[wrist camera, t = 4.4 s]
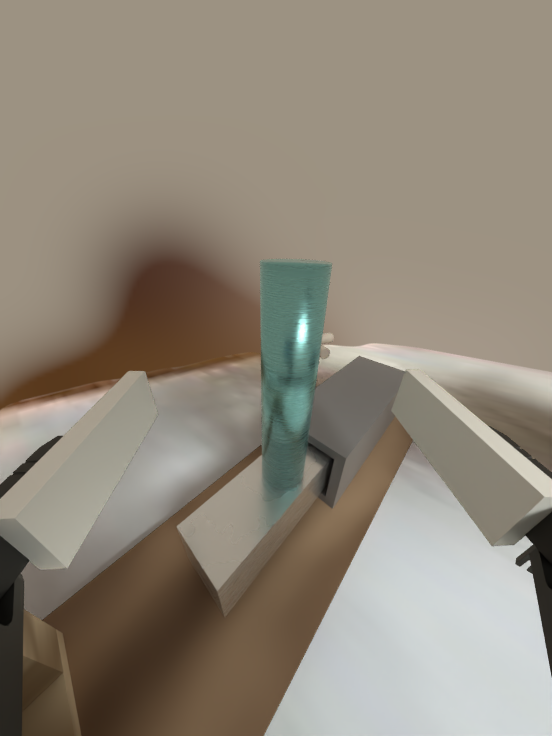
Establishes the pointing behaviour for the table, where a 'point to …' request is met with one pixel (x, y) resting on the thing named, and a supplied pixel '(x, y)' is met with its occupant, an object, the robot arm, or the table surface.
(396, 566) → the table surface
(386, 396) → the outer sleeve
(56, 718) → the socket block
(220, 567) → the bar with teal cylinder
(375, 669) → the table surface
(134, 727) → the base board
